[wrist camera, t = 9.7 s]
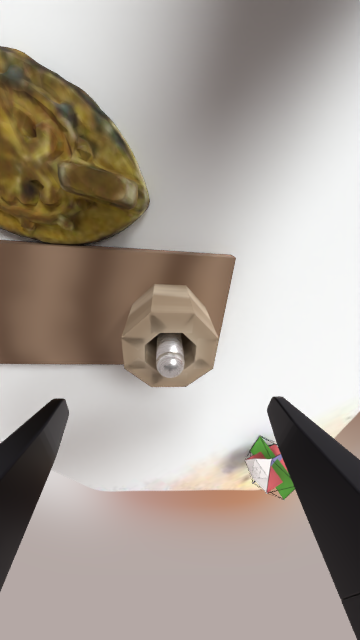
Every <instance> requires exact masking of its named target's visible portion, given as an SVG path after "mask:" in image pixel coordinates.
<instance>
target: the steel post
mask: <svg viewBox="0 0 360 640" xmlns="http://www.w3.org/2000/svg"><path fill="white" fill-rule="evenodd" d="M184 365H185V361H184V354H183V346H182V339H181V333H159V334H158V335H157V351H156V367H157V370H158V372H159V373H160V374H161V375H162V376H164V377H167V378H174V377H176V376H178V375H179V374H180V373H181V372H182V371H183V369H184Z"/></svg>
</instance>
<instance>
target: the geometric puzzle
mask: <svg viewBox="0 0 360 640" xmlns="http://www.w3.org/2000/svg"><path fill="white" fill-rule="evenodd" d="M261 437H262V436H261V435H260V437H259V438H258V440H257V441H256V443H255V444H254V446H253V447H252V449H251V450H250V456H251V453H252V454H253V456H251V457H250V458H248V459H245V462H246V465H247V466H248V467H247V468H248V469H249V470H248V471H250V473H249V474H251V476H252V479H251V480H252V484H254V482H257V483H258V484H259V487H261V488H262V489H263V490H264V491H265V492H266V494H267V493H269V491H271V490H272V489H274V488H275V487H276V489H277V490H278V491H279V493H280V495H281V496H282V498H283V500H284V499H285V498H286V497H287V496H288V495H289V494H290V493H291V492H292V491H293V490H295V487H294V485H293V483H292V480H291V478H290V475H289V473H288V470H287V468H286V466H285V463H284V461H283V458H282V456H281V453H280V451H279V448H278V447H277V444H274V443H273V446H272V445H269V446H271V447H268V445H267V444H266V443H265V442H264V440H263V439H262V438H261ZM264 439H265V438H264ZM266 440H267V438H266ZM268 441H269V440H268ZM271 441H272V440H271ZM271 441H270V442H271ZM276 443H277V442H276ZM248 455H249V454H248ZM248 455H247V456H248ZM246 458H247V457H246ZM251 476H250V477H251ZM253 479H254V480H255V481H254V482H253ZM255 485H256V484H255ZM257 487H258V485H257ZM262 489H261V490H262ZM272 492H273V491H272ZM270 493H271V492H270Z"/></svg>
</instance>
